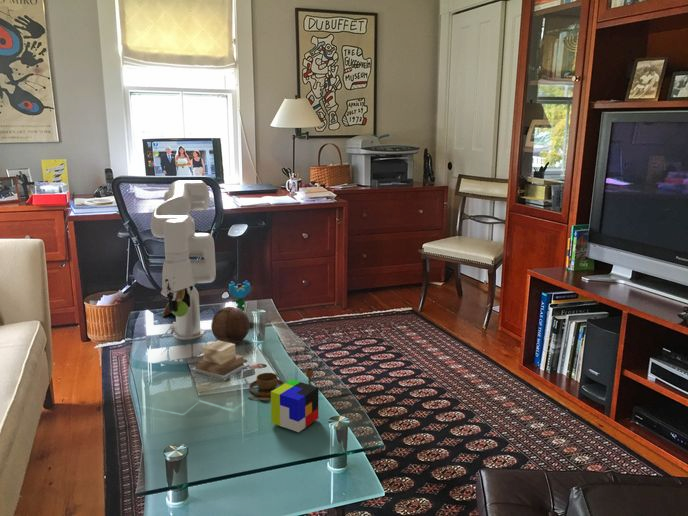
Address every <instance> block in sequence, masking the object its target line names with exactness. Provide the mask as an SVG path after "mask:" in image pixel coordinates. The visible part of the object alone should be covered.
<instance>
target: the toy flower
mask: <svg viewBox="0 0 688 516" xmlns="http://www.w3.org/2000/svg"><path fill="white" fill-rule="evenodd" d="M228 290H229V294H231V296H233V298H236V299H235V304H236V306H235V307H236V308H239V309H241V310H242V311H243V312H245V306H244V305H246V304H245V303H246V301H245V300H243V298H246V297H247V295H249V293H251V283H250V282H248V280H245V281H244V282H242V283H237V284H236V282H234V280H233V281H230V283H229V284H228Z"/></svg>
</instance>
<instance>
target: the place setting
mask: <svg viewBox="0 0 688 516" xmlns="http://www.w3.org/2000/svg"><path fill="white" fill-rule="evenodd" d="M305 376H306V378H308V380H307V381H308V382H307V383H308V384H309V385H312V378H313V377H314V368H312V367H310V368H306V369H305ZM285 383H286V382H284V381H283V380H281V379H279V378H278V375H277V374H276V373H275V372H263V373H259V374H258V375H256V380H253V381H252V382H251V383H250V384H249V386H248V388H249V391H250V393H252V394H253V395H255V396H259V397H250V396H249V397H248V399H251V400H254V399H255V400H260V401H263V402H264V401H269V400H270V398H269V397H271V391H273V390H274V389H276V388H277V385H278V384H279V385H280V386H281V385H283V384H285ZM255 386H257V387H258V388H259V390H258V391H256V390H253V388H254V387H255Z"/></svg>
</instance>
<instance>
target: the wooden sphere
mask: <svg viewBox="0 0 688 516" xmlns="http://www.w3.org/2000/svg"><path fill="white" fill-rule="evenodd" d="M210 325H211V327H210V329H211V332H212V334H213V337H214V338H215V339H216V341H217V340H219V341H224V342H228V343H233V344H235V345H236V344H238V343H240V342H242V341H243V340H244V339H245V338H246V337H247V335H248V333H249V330H250V319H249V316H248V315H247V313H245V311H242V310H241V309H239V308H236V306H226V307H223V308H221V309H219V310H218V311H217V312H216V313H215V314H214V315H213V317H212V320H211V324H210Z"/></svg>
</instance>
